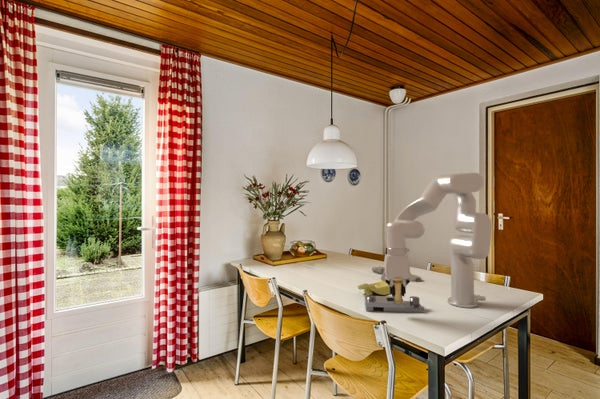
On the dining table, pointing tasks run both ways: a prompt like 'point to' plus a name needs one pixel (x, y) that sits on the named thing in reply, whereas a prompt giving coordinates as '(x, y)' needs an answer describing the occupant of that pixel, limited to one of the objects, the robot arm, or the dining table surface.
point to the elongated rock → (381, 270)
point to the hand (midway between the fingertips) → (397, 295)
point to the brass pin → (397, 290)
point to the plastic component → (376, 288)
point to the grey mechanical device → (393, 304)
